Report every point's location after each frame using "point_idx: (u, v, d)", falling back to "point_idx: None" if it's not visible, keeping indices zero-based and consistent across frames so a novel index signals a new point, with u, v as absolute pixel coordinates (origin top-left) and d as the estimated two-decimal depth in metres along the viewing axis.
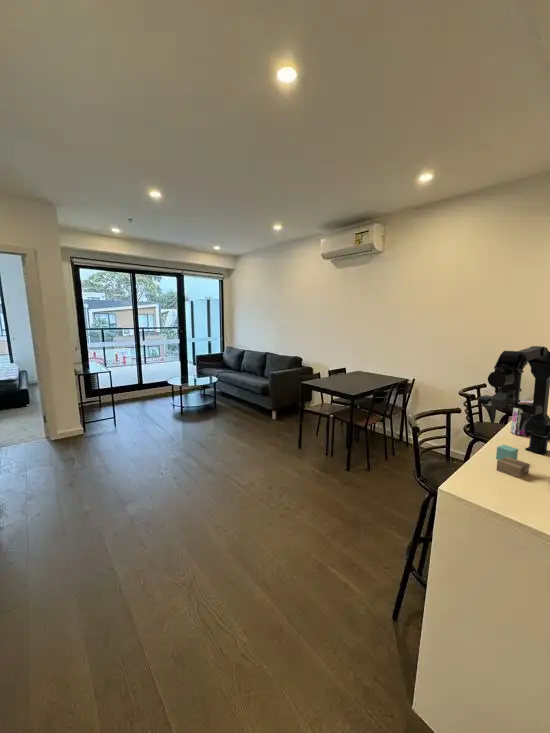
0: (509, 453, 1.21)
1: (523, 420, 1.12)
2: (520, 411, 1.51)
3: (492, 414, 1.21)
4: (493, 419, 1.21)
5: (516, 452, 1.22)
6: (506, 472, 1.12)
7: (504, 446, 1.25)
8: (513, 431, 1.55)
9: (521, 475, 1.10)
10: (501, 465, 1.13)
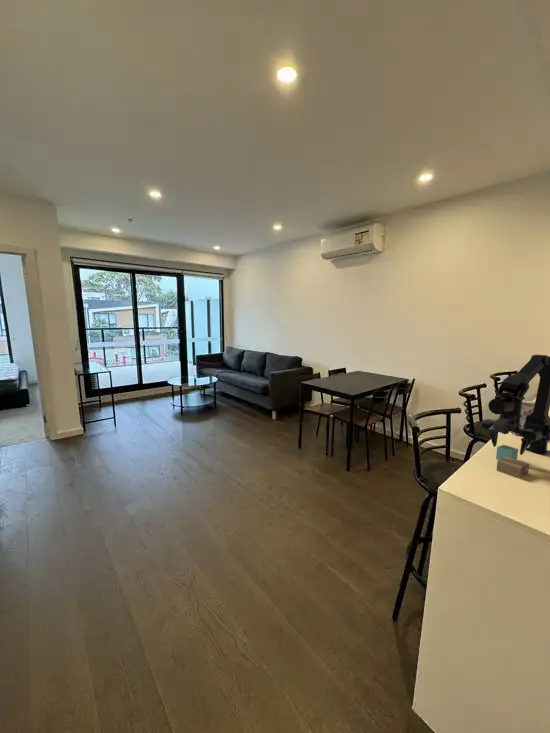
0: (509, 453, 1.21)
1: (524, 445, 1.18)
2: None
3: (494, 438, 1.27)
4: (495, 442, 1.27)
5: (516, 452, 1.22)
6: (506, 472, 1.12)
7: (504, 446, 1.25)
8: None
9: (521, 475, 1.10)
10: (502, 465, 1.13)
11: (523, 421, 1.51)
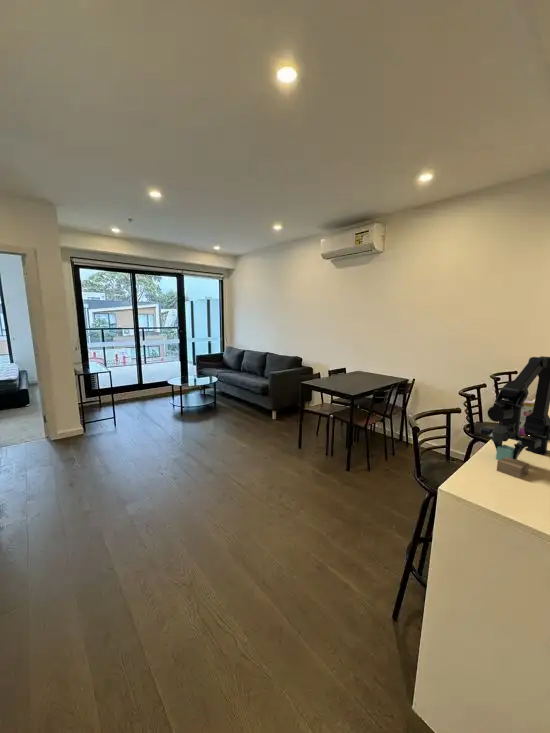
0: (510, 452, 1.21)
1: (517, 451, 1.20)
2: None
3: None
4: None
5: None
6: (507, 472, 1.12)
7: (504, 446, 1.25)
8: None
9: (521, 475, 1.10)
10: (502, 465, 1.13)
11: (523, 421, 1.51)
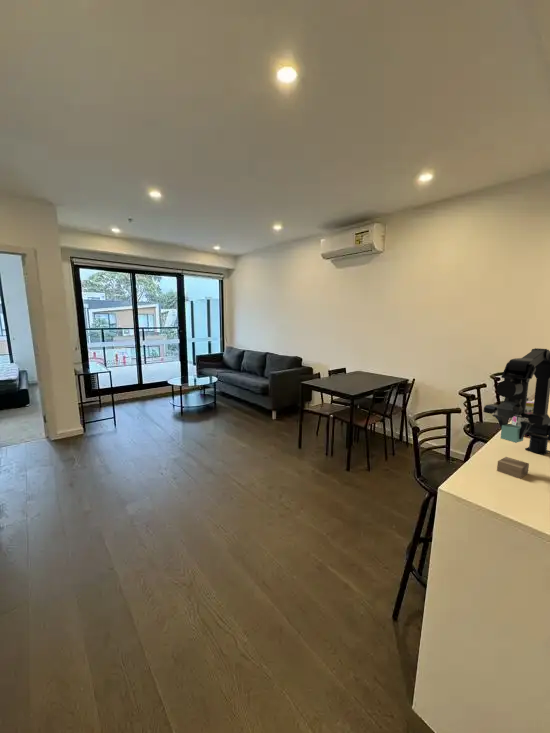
0: (515, 431, 1.13)
1: (523, 429, 1.12)
2: None
3: None
4: None
5: None
6: (507, 472, 1.12)
7: (509, 425, 1.17)
8: None
9: (522, 475, 1.10)
10: (502, 465, 1.13)
11: None
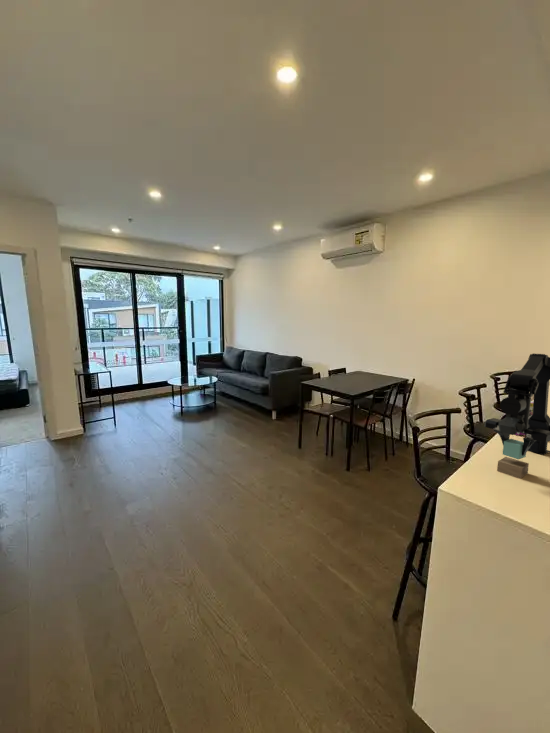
0: (518, 447, 1.09)
1: (526, 445, 1.08)
2: None
3: None
4: None
5: None
6: (507, 472, 1.12)
7: (511, 440, 1.14)
8: None
9: (522, 475, 1.10)
10: (503, 465, 1.13)
11: None
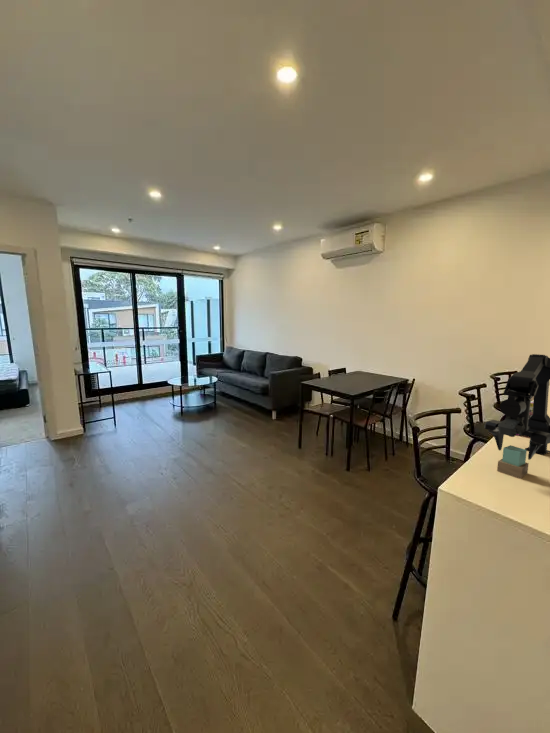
0: (518, 454, 1.09)
1: (532, 449, 1.07)
2: None
3: (499, 440, 1.16)
4: (500, 446, 1.16)
5: (525, 453, 1.11)
6: (507, 472, 1.12)
7: (511, 447, 1.14)
8: None
9: (522, 475, 1.10)
10: (503, 465, 1.13)
11: None
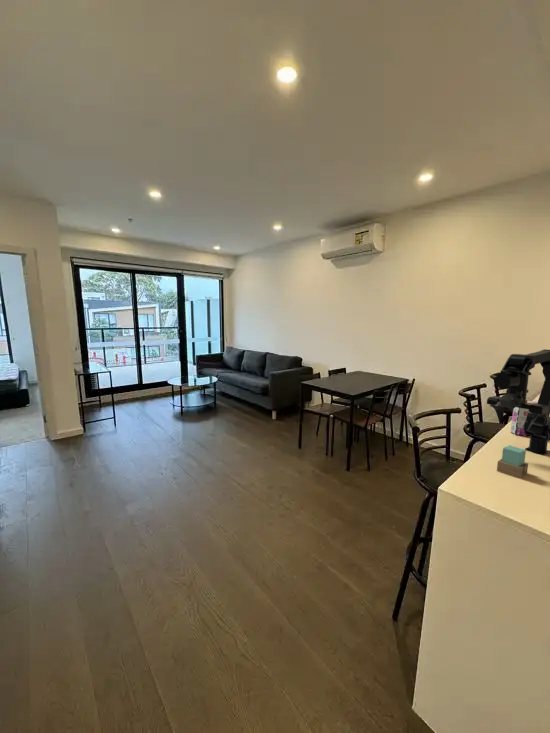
0: (517, 454, 1.09)
1: (530, 420, 1.19)
2: (520, 411, 1.51)
3: (500, 414, 1.28)
4: (501, 419, 1.28)
5: (524, 453, 1.11)
6: (507, 473, 1.12)
7: (510, 447, 1.14)
8: (513, 431, 1.55)
9: (522, 475, 1.10)
10: (502, 465, 1.13)
11: (523, 421, 1.51)
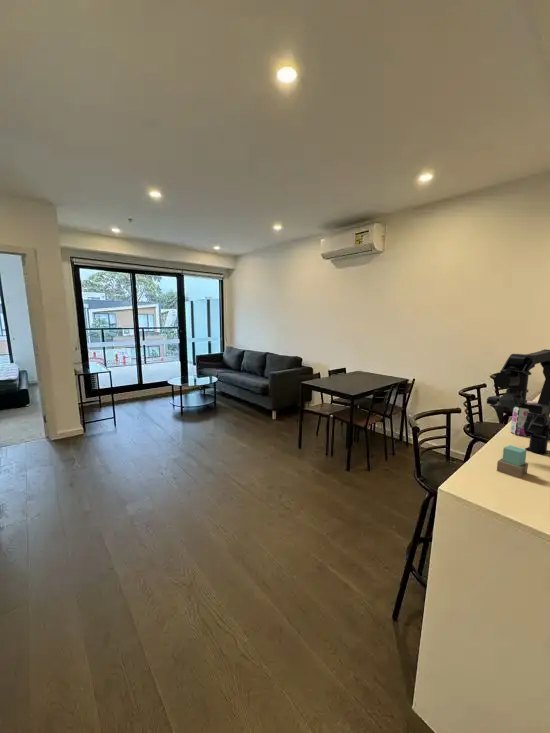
0: (518, 454, 1.09)
1: (530, 419, 1.19)
2: (520, 411, 1.51)
3: (500, 414, 1.28)
4: (501, 418, 1.28)
5: (525, 453, 1.11)
6: (507, 472, 1.12)
7: (511, 447, 1.14)
8: (513, 431, 1.55)
9: (522, 475, 1.10)
10: (502, 465, 1.13)
11: (523, 421, 1.51)
